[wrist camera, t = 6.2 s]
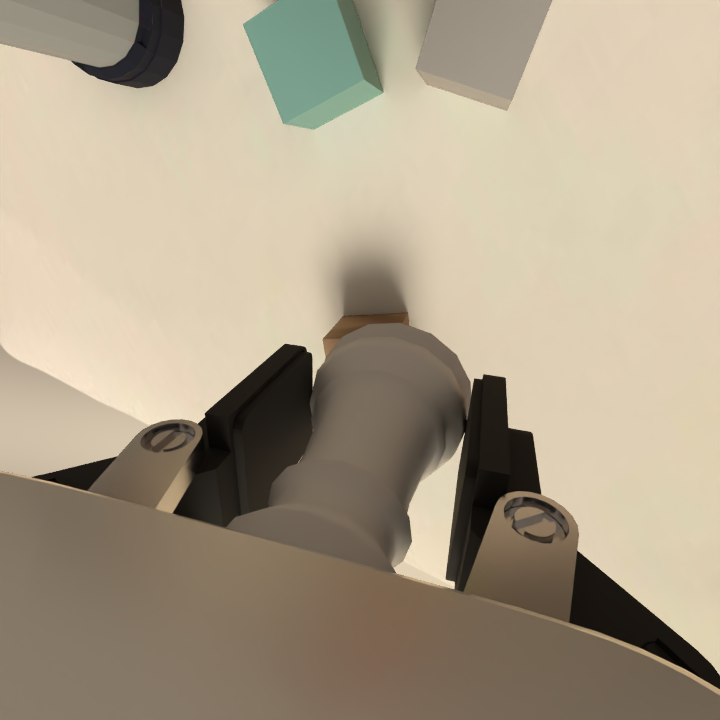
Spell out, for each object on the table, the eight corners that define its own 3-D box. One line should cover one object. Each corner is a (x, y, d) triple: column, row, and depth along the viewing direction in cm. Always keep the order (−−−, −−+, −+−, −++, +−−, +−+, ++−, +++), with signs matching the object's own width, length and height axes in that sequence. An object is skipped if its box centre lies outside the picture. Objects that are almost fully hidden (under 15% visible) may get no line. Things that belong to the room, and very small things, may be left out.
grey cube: (548, 7, 23) (563, -29, 19) (507, 111, 26) (511, 100, 21) (460, -20, 24) (454, -61, 19) (427, 84, 26) (415, 69, 22)
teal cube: (353, 1, 25) (325, -32, 21) (383, 92, 27) (364, 79, 22) (281, 46, 27) (242, 24, 23) (314, 129, 29) (283, 123, 24)
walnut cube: (408, 312, 32) (396, 336, 28) (413, 373, 34) (403, 405, 30) (343, 315, 34) (322, 339, 29) (352, 374, 35) (334, 404, 31)
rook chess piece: (305, 334, 13) (86, 532, 6) (451, 299, 11) (383, 514, 4) (352, 458, 14) (217, 734, 7) (488, 441, 13) (481, 776, 6)
